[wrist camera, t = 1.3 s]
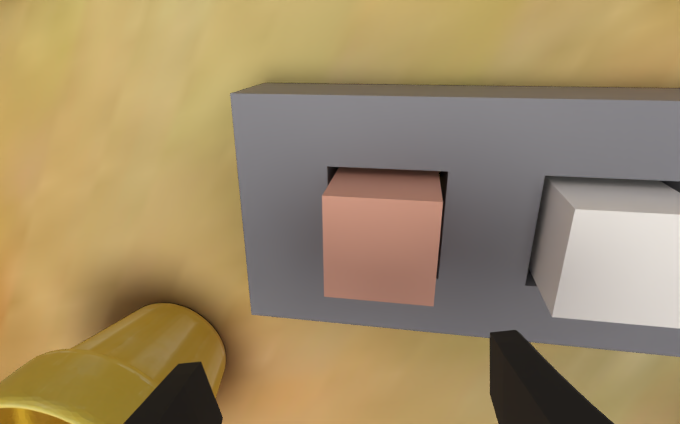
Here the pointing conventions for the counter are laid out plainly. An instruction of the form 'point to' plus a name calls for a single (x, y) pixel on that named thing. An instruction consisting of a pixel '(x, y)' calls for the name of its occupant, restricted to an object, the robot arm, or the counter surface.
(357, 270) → the terracotta key
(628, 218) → the white key
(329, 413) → the counter surface
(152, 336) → the plant pot
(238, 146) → the key panel
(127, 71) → the counter surface
